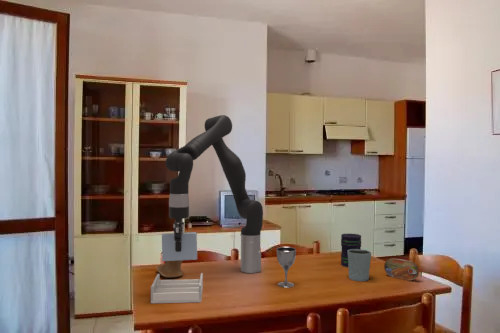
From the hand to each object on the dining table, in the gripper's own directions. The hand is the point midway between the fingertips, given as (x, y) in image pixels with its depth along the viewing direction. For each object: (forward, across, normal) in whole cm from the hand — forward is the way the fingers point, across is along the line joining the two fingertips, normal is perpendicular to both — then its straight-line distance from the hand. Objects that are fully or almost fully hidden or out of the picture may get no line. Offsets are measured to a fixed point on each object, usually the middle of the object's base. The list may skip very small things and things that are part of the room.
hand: (178, 250), depth 149 cm
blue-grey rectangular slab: (+3, 0, 0) cm, 4 cm away
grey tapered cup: (+17, +17, -78) cm, 81 cm away
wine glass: (+17, +10, -44) cm, 48 cm away
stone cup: (+17, +28, +5) cm, 33 cm away
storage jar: (+17, +39, -82) cm, 92 cm away
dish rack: (+17, 0, 0) cm, 17 cm away
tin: (+17, +16, -96) cm, 99 cm away
